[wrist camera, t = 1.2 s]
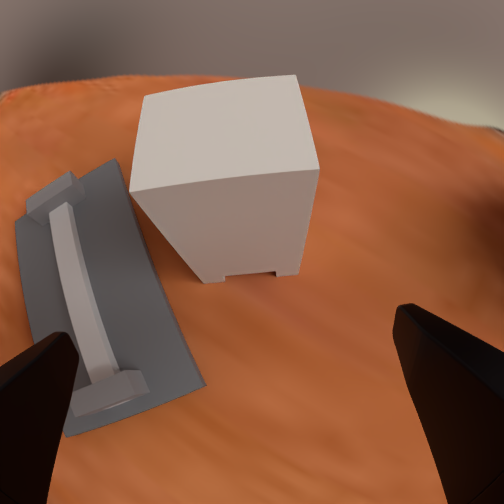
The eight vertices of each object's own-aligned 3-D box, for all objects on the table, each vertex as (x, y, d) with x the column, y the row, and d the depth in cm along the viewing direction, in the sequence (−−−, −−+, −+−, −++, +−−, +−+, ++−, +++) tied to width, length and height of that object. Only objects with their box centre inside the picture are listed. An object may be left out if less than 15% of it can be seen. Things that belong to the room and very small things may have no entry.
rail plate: (206, 385, 20) (193, 388, 17) (73, 435, 19) (47, 441, 16) (119, 164, 27) (103, 141, 23) (20, 226, 25) (-1, 211, 22)
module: (298, 274, 22) (319, 169, 10) (203, 283, 22) (129, 192, 10) (288, 202, 24) (293, 66, 12) (201, 211, 24) (146, 87, 12)
